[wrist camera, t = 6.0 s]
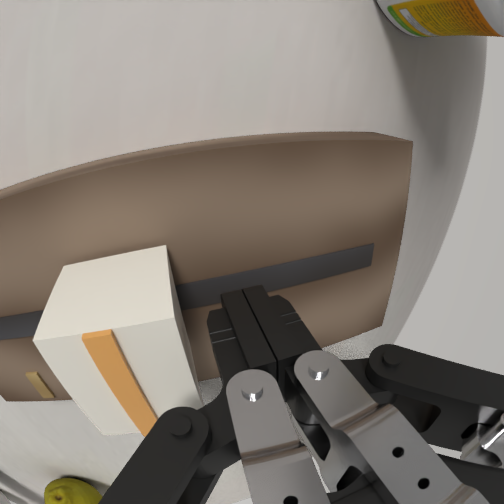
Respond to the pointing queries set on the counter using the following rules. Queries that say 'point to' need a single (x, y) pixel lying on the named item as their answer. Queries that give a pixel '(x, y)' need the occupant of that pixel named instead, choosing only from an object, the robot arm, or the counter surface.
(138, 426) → the block
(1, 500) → the cell model
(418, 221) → the counter surface
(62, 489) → the lemon
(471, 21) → the supplement bottle
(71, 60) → the counter surface
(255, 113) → the counter surface
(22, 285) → the brown flat piece
